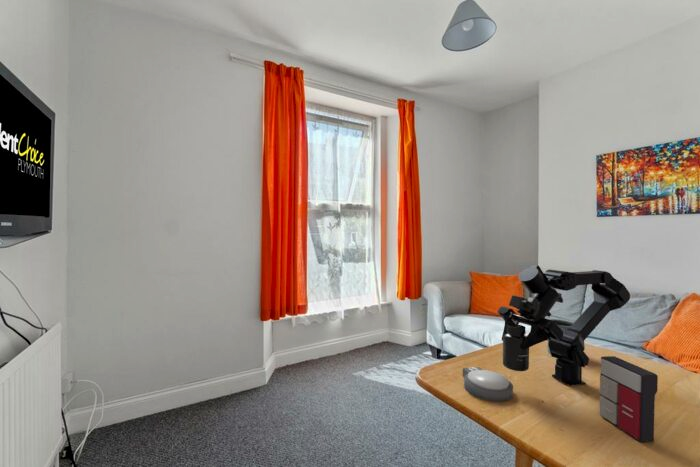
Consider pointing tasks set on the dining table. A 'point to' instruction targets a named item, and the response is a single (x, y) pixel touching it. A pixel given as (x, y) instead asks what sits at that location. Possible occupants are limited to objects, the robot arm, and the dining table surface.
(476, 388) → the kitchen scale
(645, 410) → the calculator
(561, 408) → the dining table surface
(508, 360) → the supplement bottle
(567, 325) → the drinking glass
